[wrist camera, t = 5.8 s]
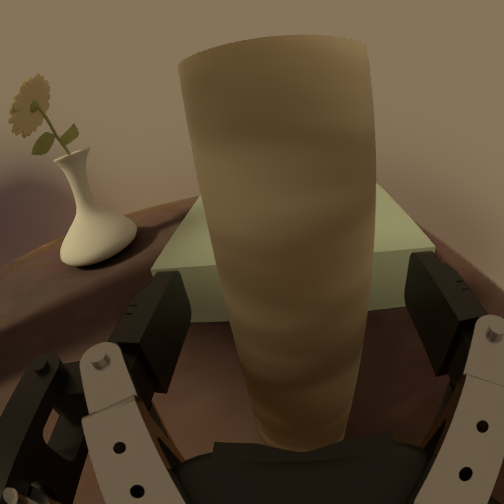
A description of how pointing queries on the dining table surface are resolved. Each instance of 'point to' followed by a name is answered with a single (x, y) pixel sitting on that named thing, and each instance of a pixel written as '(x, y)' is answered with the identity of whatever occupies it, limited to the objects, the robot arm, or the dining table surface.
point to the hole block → (208, 283)
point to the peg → (289, 219)
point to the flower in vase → (71, 182)
